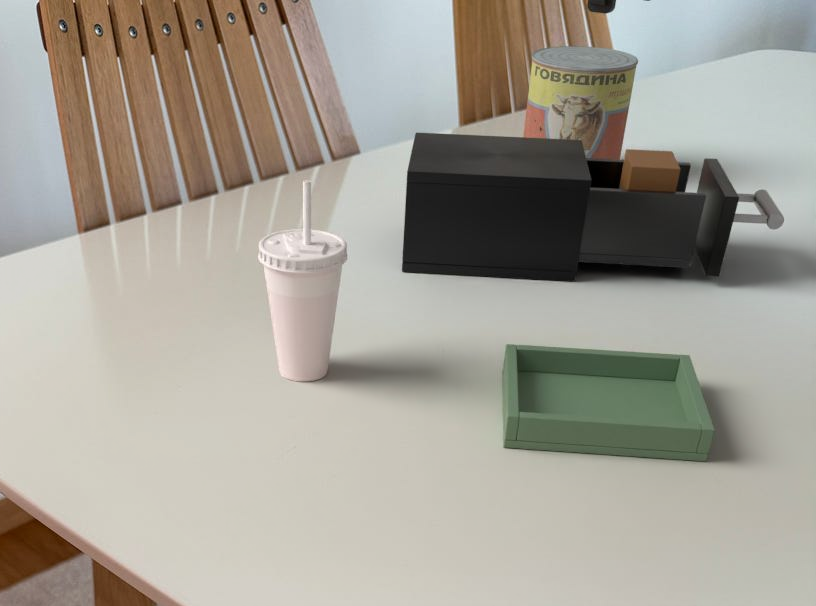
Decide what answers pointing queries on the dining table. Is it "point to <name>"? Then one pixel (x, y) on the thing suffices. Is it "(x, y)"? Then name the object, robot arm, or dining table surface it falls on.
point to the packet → (649, 170)
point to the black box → (495, 206)
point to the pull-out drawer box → (666, 218)
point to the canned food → (581, 97)
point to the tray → (604, 403)
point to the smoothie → (303, 293)
